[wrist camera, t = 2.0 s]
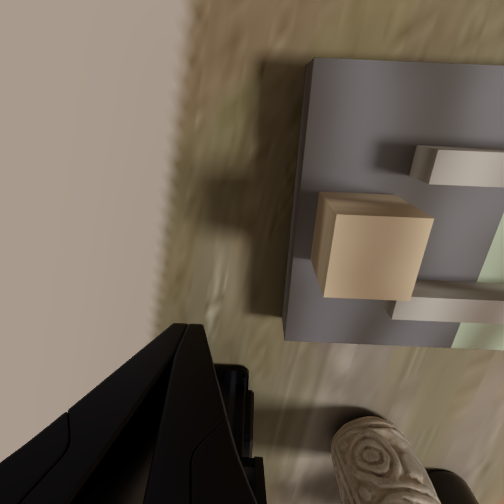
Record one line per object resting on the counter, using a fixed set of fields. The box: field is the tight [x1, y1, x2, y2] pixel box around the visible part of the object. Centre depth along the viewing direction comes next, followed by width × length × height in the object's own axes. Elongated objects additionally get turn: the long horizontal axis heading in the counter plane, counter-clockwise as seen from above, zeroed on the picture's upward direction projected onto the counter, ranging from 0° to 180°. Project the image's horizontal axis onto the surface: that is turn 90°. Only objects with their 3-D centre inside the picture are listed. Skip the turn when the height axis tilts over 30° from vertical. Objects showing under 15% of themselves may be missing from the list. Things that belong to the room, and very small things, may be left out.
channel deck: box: [282, 58, 504, 350], centre depth 17 cm, size 22×16×4 cm
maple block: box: [310, 191, 434, 301], centre depth 15 cm, size 4×4×4 cm
